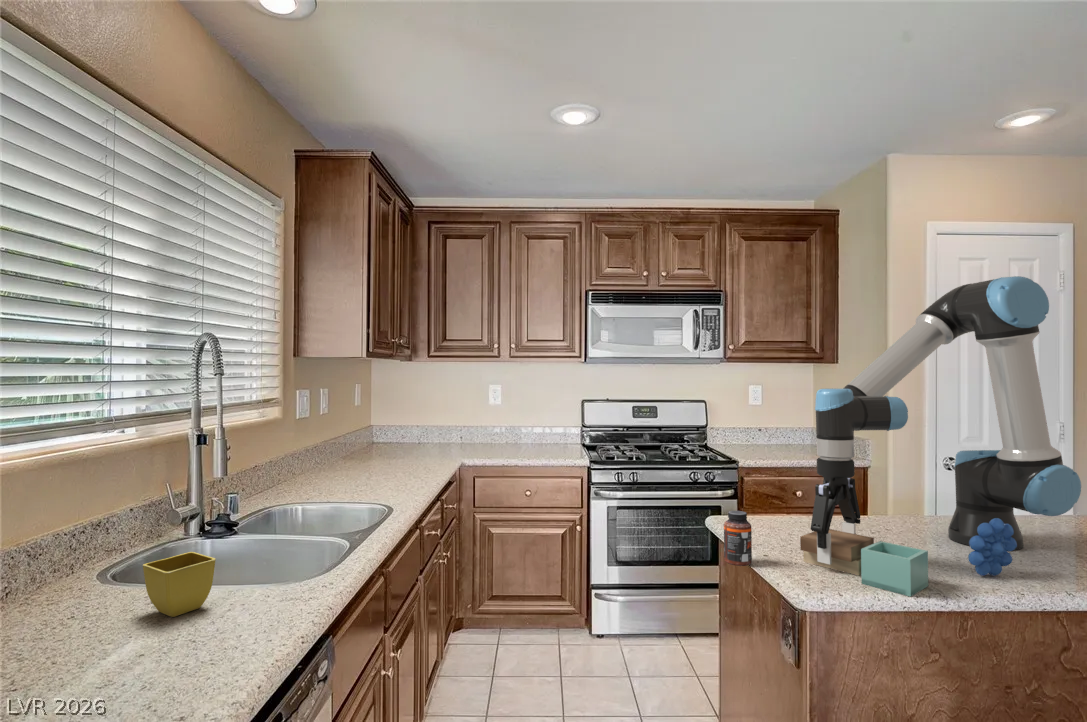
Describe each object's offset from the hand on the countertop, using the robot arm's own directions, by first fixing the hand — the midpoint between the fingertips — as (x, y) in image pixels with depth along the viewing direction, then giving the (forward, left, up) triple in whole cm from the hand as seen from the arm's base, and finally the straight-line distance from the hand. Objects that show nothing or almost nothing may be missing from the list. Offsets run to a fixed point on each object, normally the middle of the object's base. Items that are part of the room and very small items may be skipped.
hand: (837, 557), depth 132 cm
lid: (0, 0, +1) cm, 1 cm away
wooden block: (0, 0, -2) cm, 2 cm away
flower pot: (+117, -64, -2) cm, 134 cm away
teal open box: (+3, +13, -2) cm, 13 cm away
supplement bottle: (+15, -15, -2) cm, 22 cm away
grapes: (-19, +23, -2) cm, 30 cm away
